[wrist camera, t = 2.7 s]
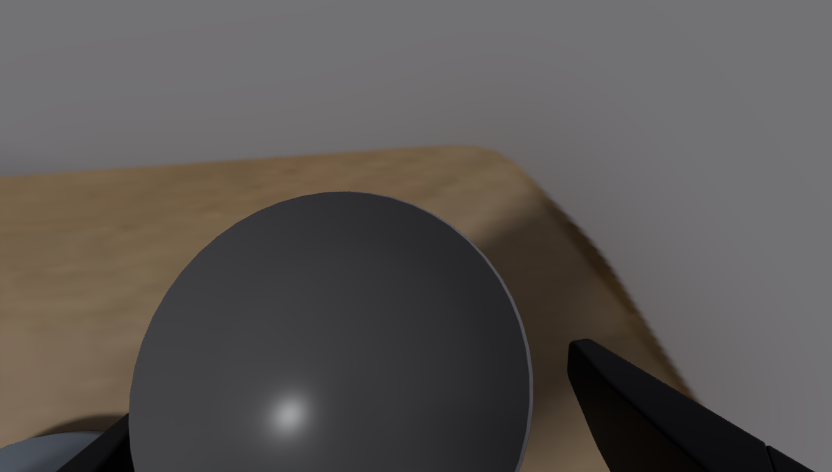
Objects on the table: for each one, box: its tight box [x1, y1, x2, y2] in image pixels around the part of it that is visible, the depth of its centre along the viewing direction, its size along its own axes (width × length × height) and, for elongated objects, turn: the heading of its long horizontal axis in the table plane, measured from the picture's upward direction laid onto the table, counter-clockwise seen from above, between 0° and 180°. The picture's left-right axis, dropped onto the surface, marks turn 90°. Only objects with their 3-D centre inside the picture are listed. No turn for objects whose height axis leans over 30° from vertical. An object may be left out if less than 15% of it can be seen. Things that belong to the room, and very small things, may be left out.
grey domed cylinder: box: [129, 191, 533, 472], centre depth 11 cm, size 5×5×12 cm
